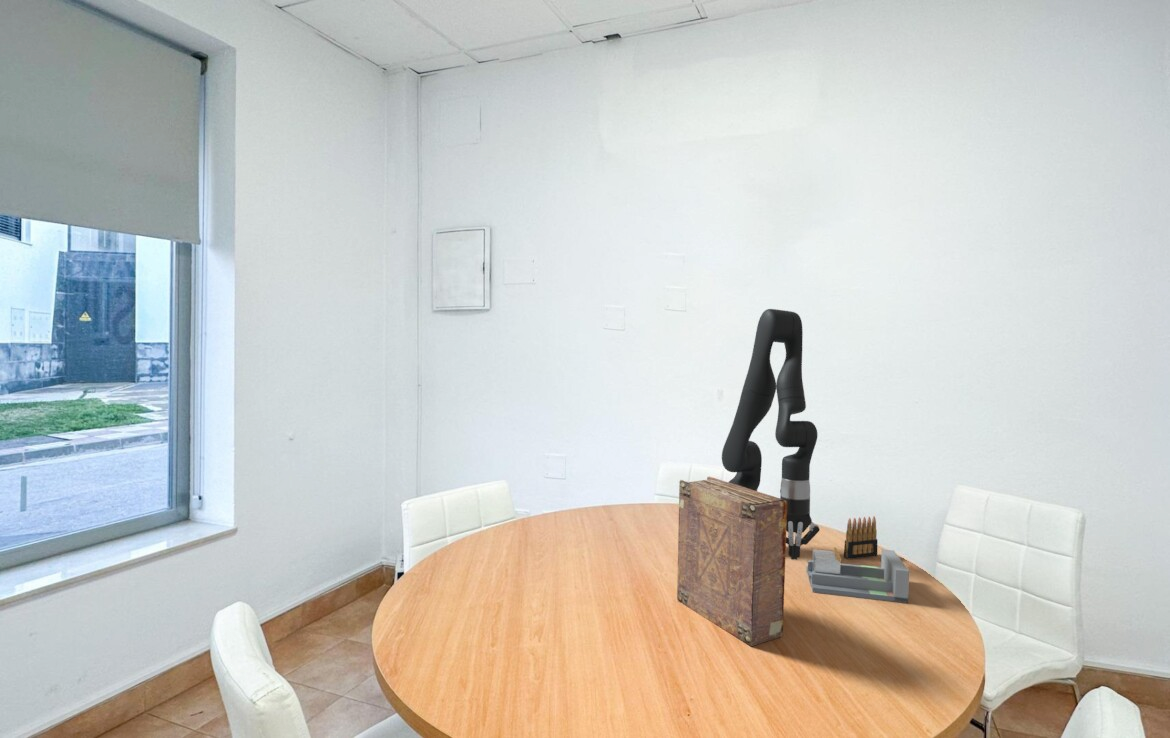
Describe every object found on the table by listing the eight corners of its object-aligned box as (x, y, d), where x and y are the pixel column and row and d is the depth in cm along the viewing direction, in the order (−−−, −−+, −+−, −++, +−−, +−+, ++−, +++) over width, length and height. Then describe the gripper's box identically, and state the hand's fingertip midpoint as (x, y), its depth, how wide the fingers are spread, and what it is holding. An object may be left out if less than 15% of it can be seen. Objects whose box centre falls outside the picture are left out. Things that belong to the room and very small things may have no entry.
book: (676, 600, 143) (678, 479, 142) (705, 592, 148) (708, 475, 146) (751, 647, 121) (755, 505, 120) (783, 637, 126) (787, 500, 124)
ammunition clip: (873, 553, 177) (874, 515, 177) (877, 556, 175) (879, 516, 175) (843, 557, 174) (844, 517, 174) (847, 559, 172) (849, 519, 172)
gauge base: (812, 592, 149) (813, 561, 148) (806, 570, 163) (807, 542, 163) (908, 603, 143) (909, 571, 143) (892, 579, 158) (893, 550, 157)
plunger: (815, 581, 152) (816, 556, 151) (811, 569, 160) (812, 545, 159) (840, 584, 150) (841, 558, 150) (835, 572, 158) (836, 547, 158)
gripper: (770, 496, 154) (769, 561, 155) (823, 500, 151) (822, 566, 152) (768, 490, 162) (767, 551, 162) (819, 493, 158) (818, 556, 159)
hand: (794, 558), depth 157 cm, fingers closed
